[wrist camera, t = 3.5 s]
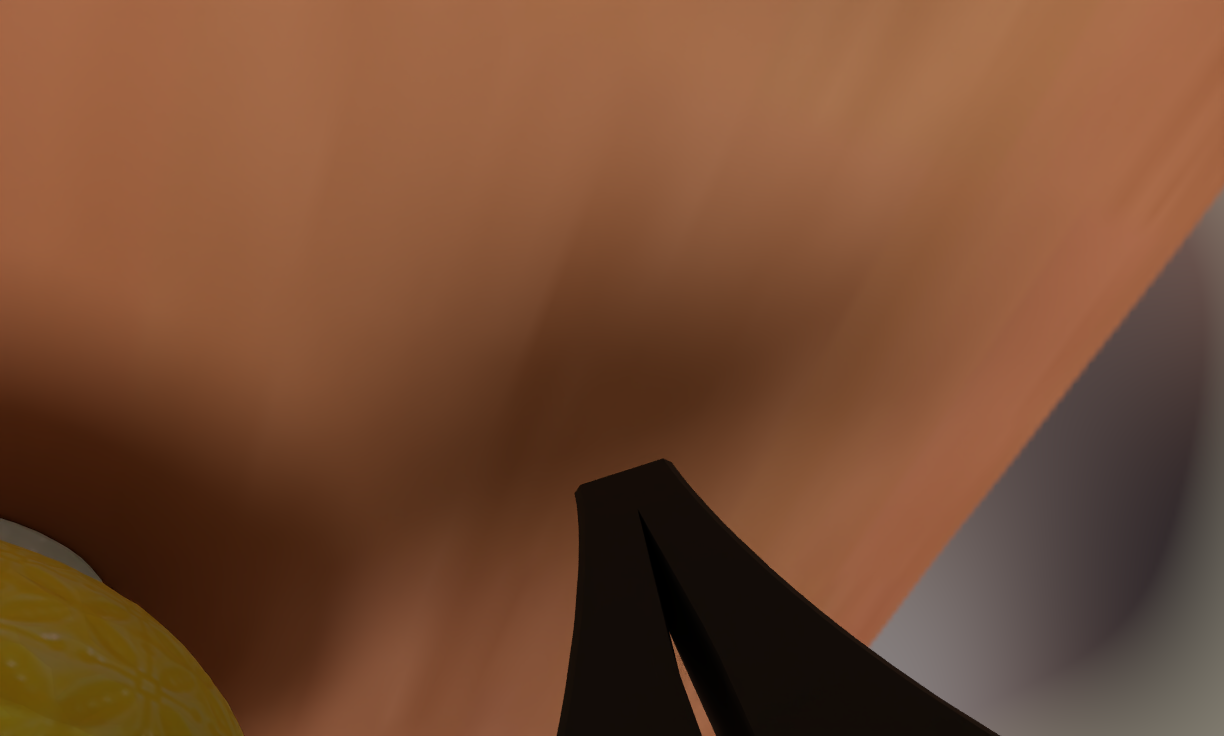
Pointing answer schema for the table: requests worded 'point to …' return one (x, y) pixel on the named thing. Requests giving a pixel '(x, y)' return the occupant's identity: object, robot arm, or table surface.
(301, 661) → the table surface
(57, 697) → the bowl
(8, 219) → the table surface
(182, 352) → the table surface
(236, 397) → the table surface
